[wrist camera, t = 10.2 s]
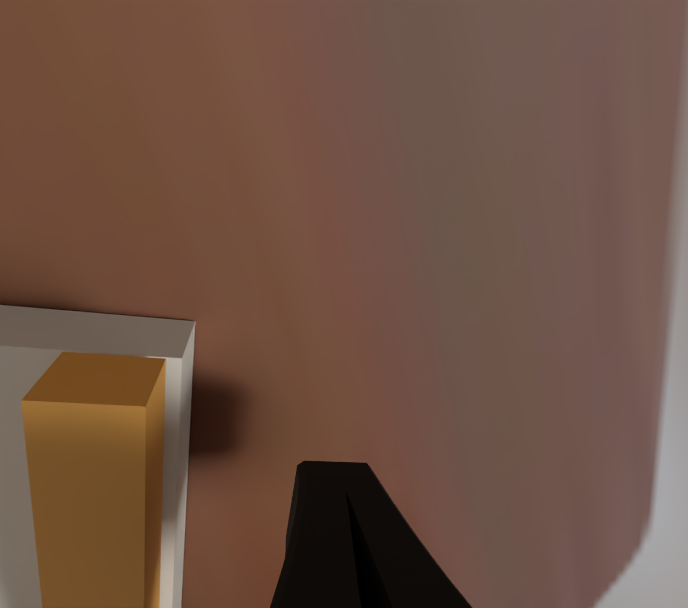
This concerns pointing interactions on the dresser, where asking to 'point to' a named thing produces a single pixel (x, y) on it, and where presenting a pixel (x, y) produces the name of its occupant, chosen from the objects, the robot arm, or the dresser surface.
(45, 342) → the white tray
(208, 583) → the dresser surface
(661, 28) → the dresser surface
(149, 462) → the orange-brown long box
